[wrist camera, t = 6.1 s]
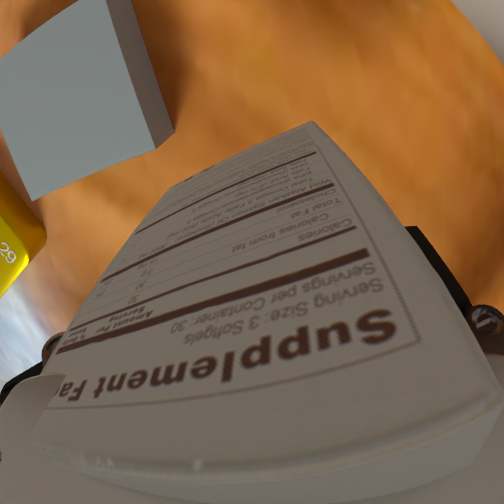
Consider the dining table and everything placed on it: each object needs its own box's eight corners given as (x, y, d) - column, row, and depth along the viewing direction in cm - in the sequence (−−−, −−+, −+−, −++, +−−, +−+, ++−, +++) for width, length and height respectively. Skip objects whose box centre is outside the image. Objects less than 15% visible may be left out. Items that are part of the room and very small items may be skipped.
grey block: (131, -3, 16) (101, -14, 12) (175, 131, 22) (155, 149, 18) (20, 66, 18) (-17, 74, 14) (62, 177, 24) (32, 201, 20)
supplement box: (366, 252, 15) (449, 509, 5) (236, 298, 17) (205, 540, 7) (316, 113, 12) (538, 398, 1) (164, 183, 14) (-7, 447, 3)
